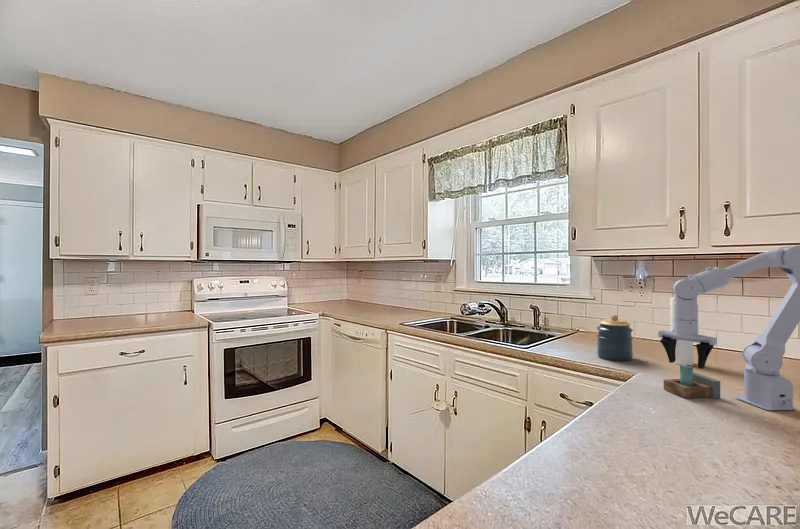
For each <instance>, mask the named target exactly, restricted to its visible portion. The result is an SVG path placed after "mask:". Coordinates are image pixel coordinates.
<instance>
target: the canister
mask: <svg viewBox="0 0 800 529" xmlns="http://www.w3.org/2000/svg"><path fill="white" fill-rule="evenodd" d="M598 323H599V325H598V326H597V327H596V328H597V330H598V332H597V333H598V334H597V335H596V337H597V339H596V340H597V345H596V346H597V347H596V348H597V349H596V350H597V352H596V353H597V357H599V358H600V359H604V360H608V359H609V361H617V362H627V361H628V362H629V361H631V360H633V357H634V353H633V340H634V338H633V337H632V336H633V335H632V332H634V330H633V328H631V327H630V326H631V323H629V322H628V321H627V320H625V319H619V316H618V315H617V314H612V315H611V316H610V318H604V319H602V320H601V321H599V322H598Z"/></svg>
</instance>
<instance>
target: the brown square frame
mask: <svg viewBox="0 0 800 529" xmlns="http://www.w3.org/2000/svg"><path fill="white" fill-rule="evenodd" d="M663 390H665V391H667V392H669V393H670V394H671V393H672V394H674V395H676V396H679V397H680V398H683V399H694V398H695V399H696V398H700V399H701V398H711V387H709V386H707V385H704V384H701V383H699V382H696V381H693V385H692V386H685V385H682V384H680V378H668V379H667V378H664V379H663Z"/></svg>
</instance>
